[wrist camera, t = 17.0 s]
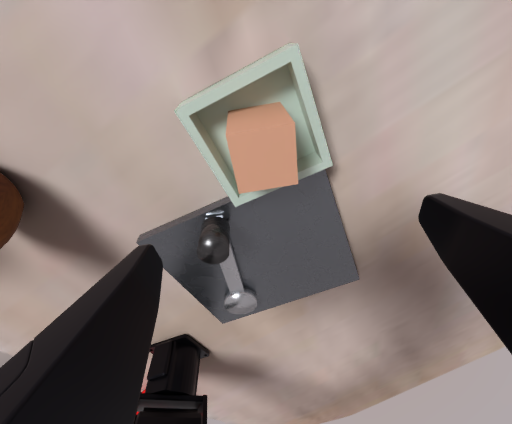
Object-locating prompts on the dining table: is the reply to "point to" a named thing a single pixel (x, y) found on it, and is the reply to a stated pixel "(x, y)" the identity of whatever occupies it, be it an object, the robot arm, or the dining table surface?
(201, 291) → the base plate
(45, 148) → the dining table surface
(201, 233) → the crank
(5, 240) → the wooden figurine
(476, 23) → the dining table surface
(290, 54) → the tray
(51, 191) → the dining table surface
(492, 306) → the robot arm
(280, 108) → the block
